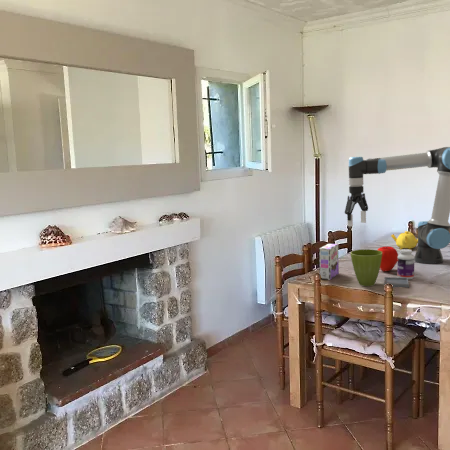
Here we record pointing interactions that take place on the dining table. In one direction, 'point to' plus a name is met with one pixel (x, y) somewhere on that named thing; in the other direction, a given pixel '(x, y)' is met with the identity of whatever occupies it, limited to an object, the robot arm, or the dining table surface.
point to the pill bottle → (405, 264)
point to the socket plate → (396, 281)
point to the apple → (388, 258)
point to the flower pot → (366, 265)
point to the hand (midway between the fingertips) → (356, 224)
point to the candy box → (328, 261)
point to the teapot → (405, 240)
